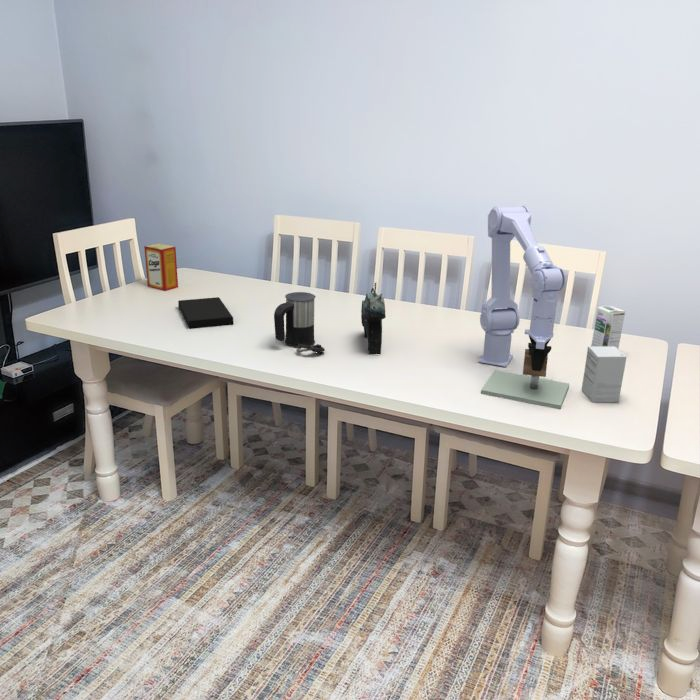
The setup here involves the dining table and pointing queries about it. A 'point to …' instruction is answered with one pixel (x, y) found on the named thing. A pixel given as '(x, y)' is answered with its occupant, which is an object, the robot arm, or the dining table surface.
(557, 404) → the sage board
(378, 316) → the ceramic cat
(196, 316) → the external hard drive
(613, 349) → the supplement box
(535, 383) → the grey steel post
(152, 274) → the baking soda box
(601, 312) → the syrup box
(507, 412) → the dining table surface
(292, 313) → the milk frother
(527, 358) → the walnut collar
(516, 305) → the robot arm
